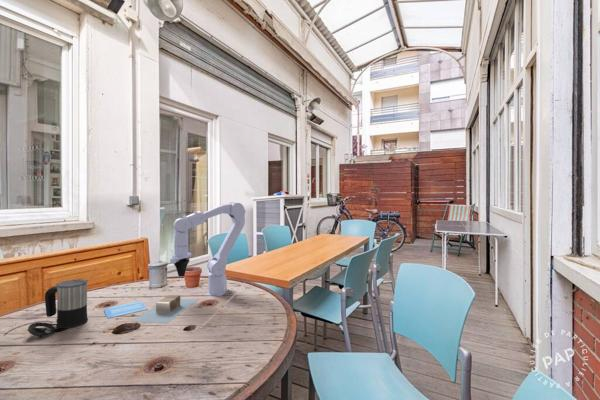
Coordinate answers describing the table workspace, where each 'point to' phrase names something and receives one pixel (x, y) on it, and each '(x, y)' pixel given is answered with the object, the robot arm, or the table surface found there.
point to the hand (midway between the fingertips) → (181, 276)
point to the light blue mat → (164, 318)
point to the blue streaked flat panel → (124, 309)
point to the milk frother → (64, 306)
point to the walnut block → (168, 304)
